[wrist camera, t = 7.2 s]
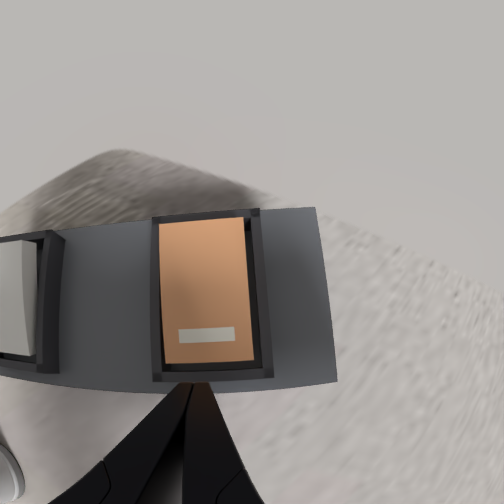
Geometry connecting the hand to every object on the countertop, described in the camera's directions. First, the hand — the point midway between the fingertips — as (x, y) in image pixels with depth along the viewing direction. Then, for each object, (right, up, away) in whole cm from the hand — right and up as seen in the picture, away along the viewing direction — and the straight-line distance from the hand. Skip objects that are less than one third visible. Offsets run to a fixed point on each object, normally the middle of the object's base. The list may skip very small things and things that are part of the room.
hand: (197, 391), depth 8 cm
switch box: (-5, -1, +14) cm, 15 cm away
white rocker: (-10, +2, +4) cm, 11 cm away
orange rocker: (0, +2, +4) cm, 4 cm away
